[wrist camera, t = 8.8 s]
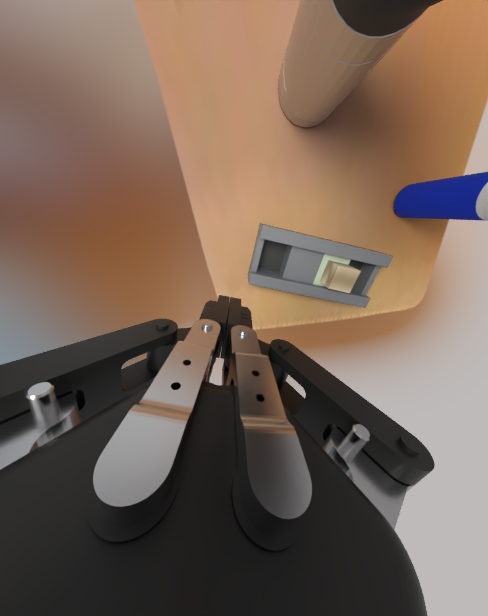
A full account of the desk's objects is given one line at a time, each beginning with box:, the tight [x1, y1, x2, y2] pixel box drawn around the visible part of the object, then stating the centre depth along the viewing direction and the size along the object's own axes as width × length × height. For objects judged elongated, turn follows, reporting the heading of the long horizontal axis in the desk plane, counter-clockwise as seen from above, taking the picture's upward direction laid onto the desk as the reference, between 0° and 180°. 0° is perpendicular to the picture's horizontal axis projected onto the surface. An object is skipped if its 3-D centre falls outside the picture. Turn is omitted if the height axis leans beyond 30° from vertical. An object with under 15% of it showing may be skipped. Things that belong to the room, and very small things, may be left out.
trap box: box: [248, 223, 393, 308], centre depth 37 cm, size 10×23×6 cm, turn 78°
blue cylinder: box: [394, 172, 488, 220], centre depth 28 cm, size 5×5×15 cm
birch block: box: [320, 260, 361, 293], centre depth 34 cm, size 4×4×4 cm
